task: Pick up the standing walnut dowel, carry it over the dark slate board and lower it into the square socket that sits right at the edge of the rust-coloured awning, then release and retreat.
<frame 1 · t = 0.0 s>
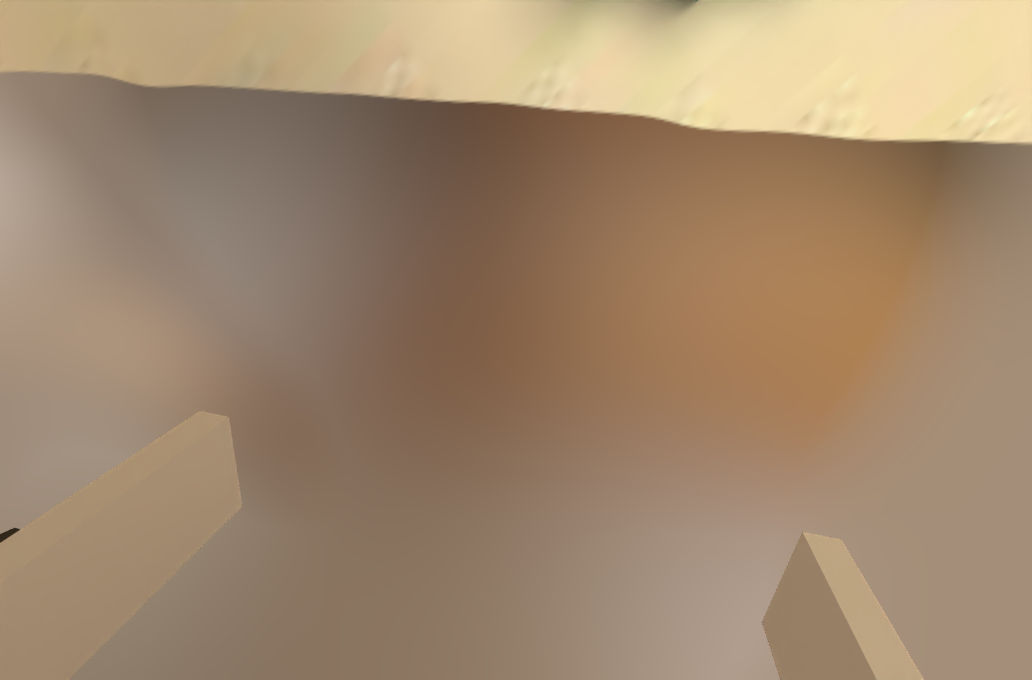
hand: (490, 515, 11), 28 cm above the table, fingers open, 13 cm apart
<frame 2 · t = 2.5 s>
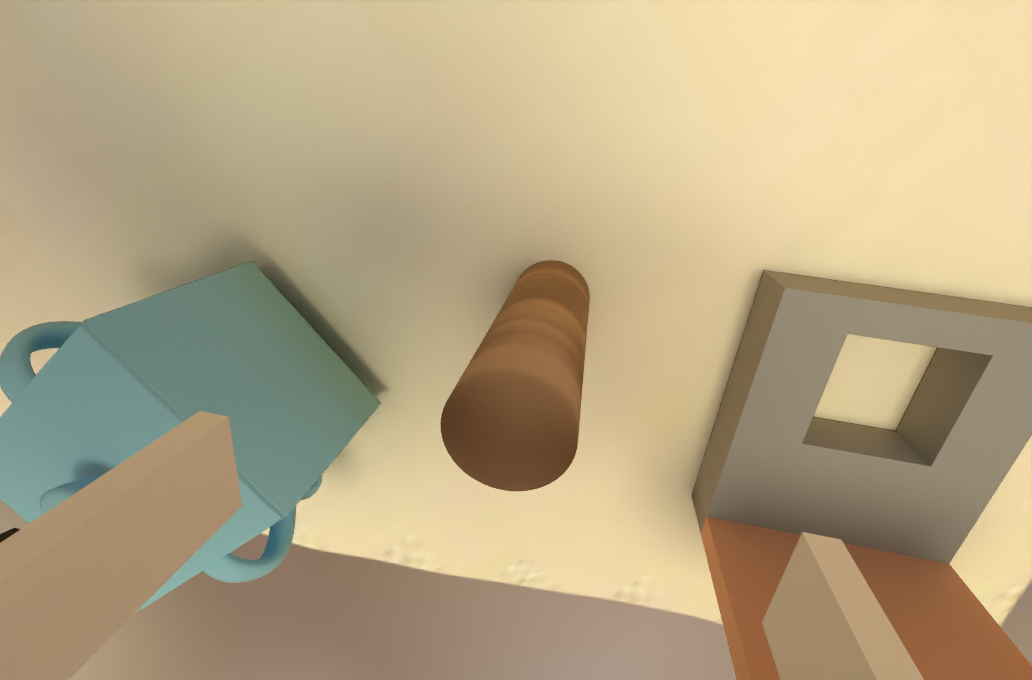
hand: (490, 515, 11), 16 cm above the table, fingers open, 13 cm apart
teapot: (248, 395, 32), on the table
socket stand: (840, 414, 26), on the table
walnut peg: (551, 297, 26), on the table
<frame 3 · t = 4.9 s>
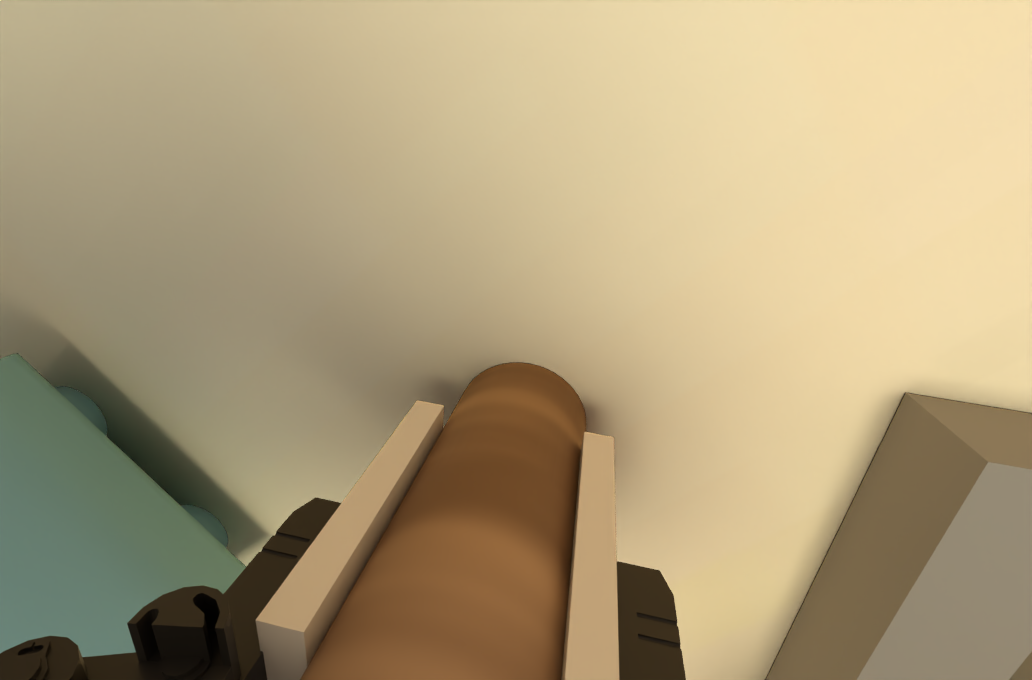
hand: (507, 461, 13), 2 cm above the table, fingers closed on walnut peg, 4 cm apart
teapot: (76, 529, 21), on the table
socket stand: (1019, 627, 15), on the table
walnut peg: (521, 421, 15), on the table, touching gripper
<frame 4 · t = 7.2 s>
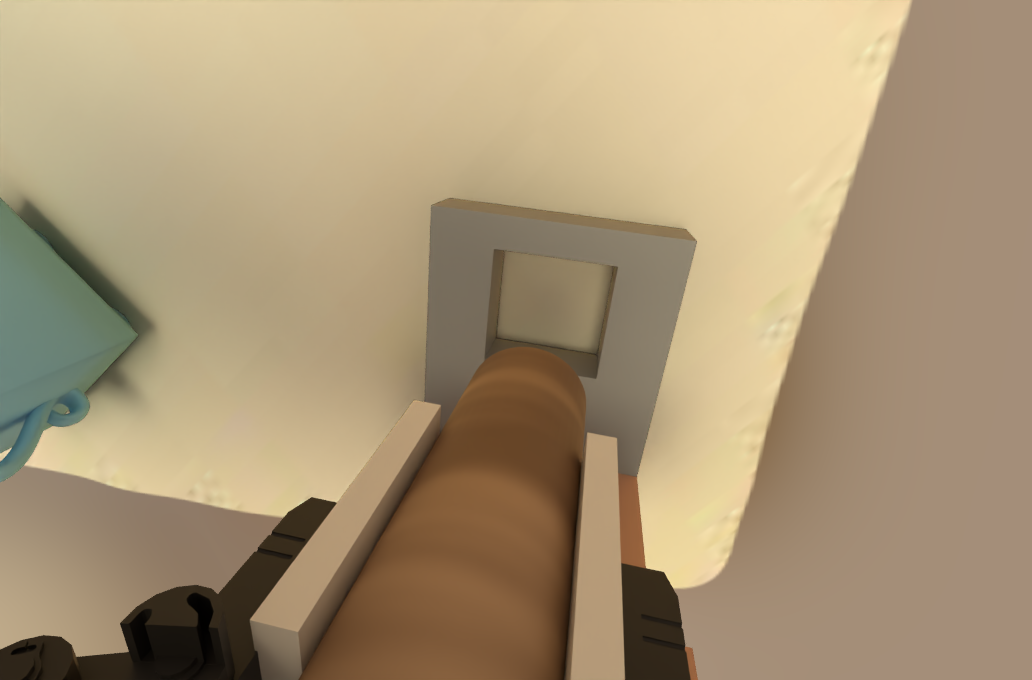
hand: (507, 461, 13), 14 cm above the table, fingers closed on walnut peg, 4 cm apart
teapot: (40, 335, 34), on the table
socket stand: (546, 339, 27), on the table
walnut peg: (526, 401, 16), point 11 cm above the table, touching gripper
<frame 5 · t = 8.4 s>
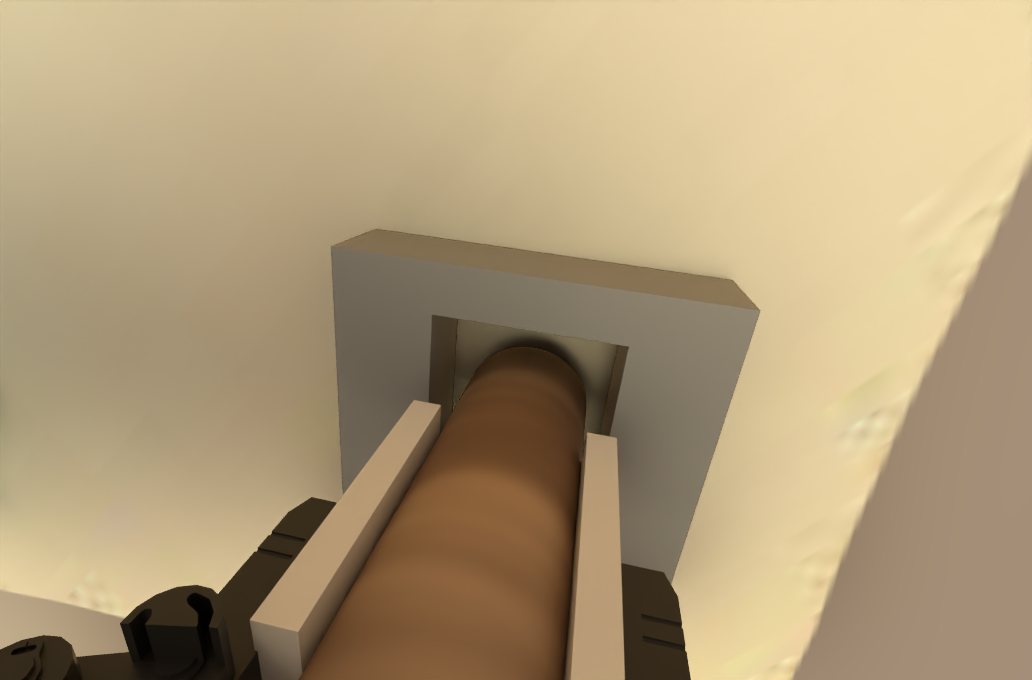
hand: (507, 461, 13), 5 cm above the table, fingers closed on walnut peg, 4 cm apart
socket stand: (523, 429, 19), on the table
walnut peg: (526, 401, 16), point 2 cm above the table, touching gripper
when the fingers open (4 cm above the table, at t = 9.5 s): walnut peg stays where it is, resting in socket stand.
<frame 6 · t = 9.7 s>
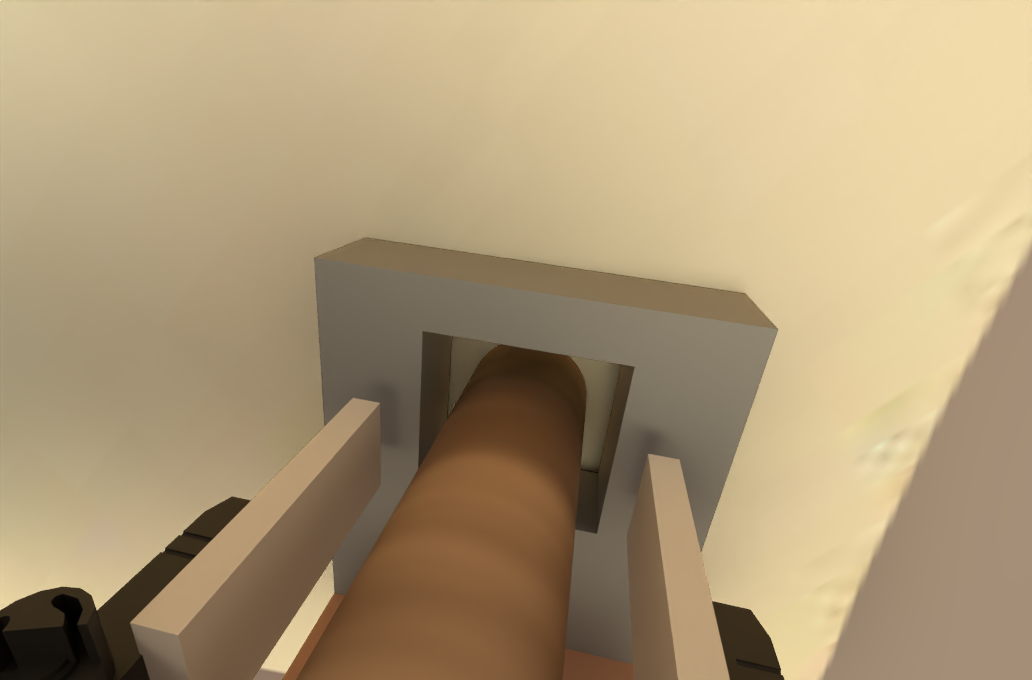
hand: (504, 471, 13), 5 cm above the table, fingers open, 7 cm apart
socket stand: (521, 449, 18), on the table
walnut peg: (528, 392, 17), resting in socket stand
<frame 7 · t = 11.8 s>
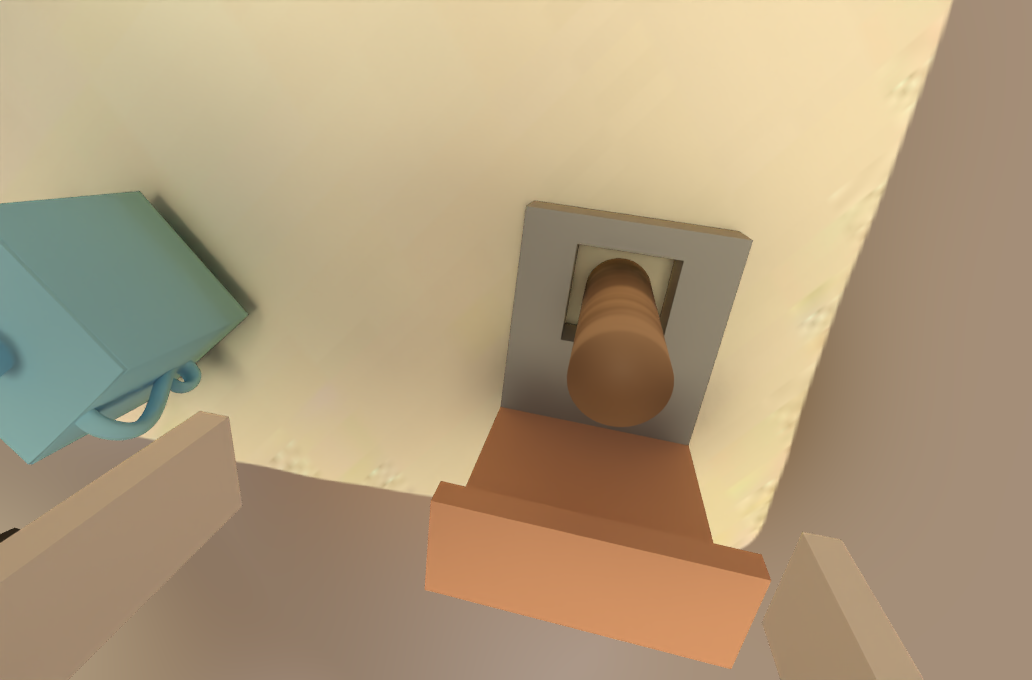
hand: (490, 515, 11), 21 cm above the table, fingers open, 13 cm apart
teapot: (151, 315, 38), on the table
socket stand: (610, 325, 31), on the table
walnut peg: (617, 290, 30), resting in socket stand
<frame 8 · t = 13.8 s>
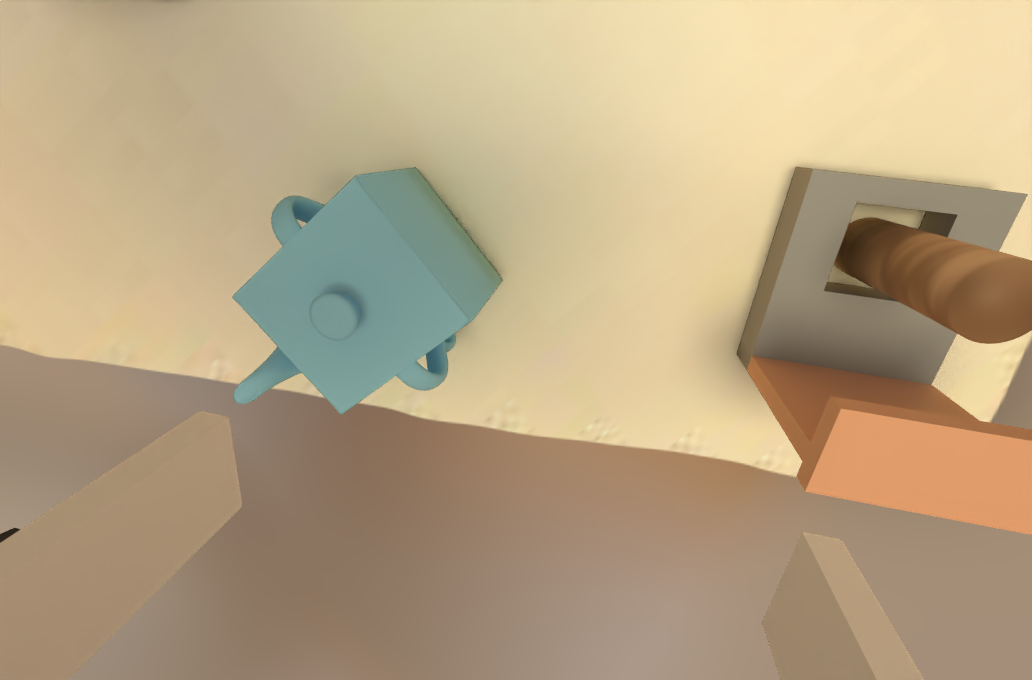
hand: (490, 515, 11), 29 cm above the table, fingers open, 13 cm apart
teapot: (389, 285, 41), on the table
socket stand: (851, 280, 35), on the table
walnut peg: (863, 246, 34), resting in socket stand
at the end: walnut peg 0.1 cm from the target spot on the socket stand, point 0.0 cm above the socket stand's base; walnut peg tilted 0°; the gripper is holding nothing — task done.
